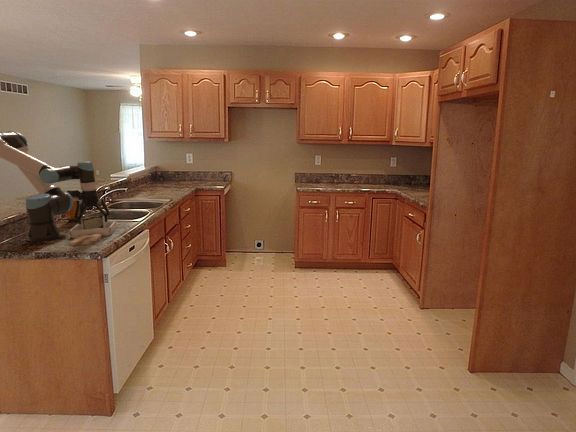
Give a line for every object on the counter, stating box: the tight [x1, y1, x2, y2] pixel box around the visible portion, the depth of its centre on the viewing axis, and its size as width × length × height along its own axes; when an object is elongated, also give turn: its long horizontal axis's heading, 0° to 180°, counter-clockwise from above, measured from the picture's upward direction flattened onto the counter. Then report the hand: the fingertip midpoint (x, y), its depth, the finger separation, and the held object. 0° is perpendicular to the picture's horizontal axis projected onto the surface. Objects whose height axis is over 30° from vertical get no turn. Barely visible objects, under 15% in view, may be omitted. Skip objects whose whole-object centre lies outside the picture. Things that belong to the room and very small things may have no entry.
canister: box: [66, 189, 86, 223], centre depth 256 cm, size 9×11×20 cm
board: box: [69, 233, 103, 247], centre depth 210 cm, size 12×15×2 cm
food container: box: [81, 213, 103, 229], centre depth 225 cm, size 12×6×10 cm, turn 143°
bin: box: [68, 221, 117, 239], centre depth 226 cm, size 21×17×4 cm
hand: (94, 228), depth 226 cm, fingers closed on food container, 11 cm apart
